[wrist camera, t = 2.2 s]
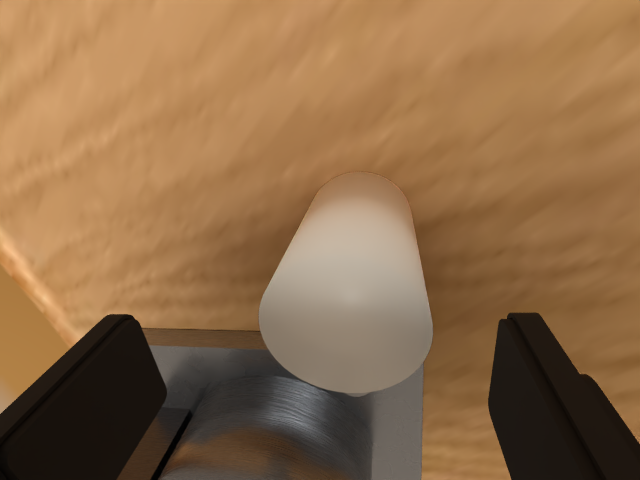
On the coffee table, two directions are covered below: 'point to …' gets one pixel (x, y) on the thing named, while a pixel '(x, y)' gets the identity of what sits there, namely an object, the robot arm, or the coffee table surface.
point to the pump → (350, 291)
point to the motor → (269, 418)
